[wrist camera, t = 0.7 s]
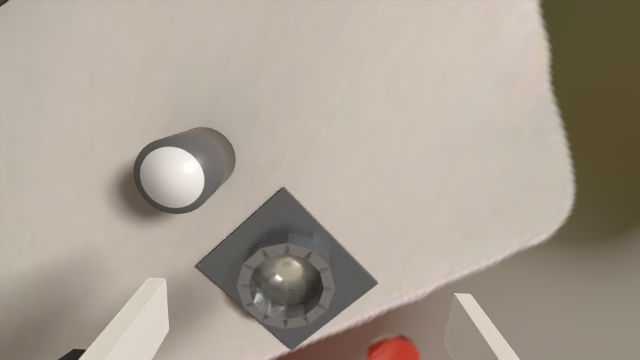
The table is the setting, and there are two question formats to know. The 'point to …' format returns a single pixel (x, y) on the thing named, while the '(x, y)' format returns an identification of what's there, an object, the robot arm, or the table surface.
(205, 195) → the lens barrel
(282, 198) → the barrel mount
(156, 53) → the table surface
